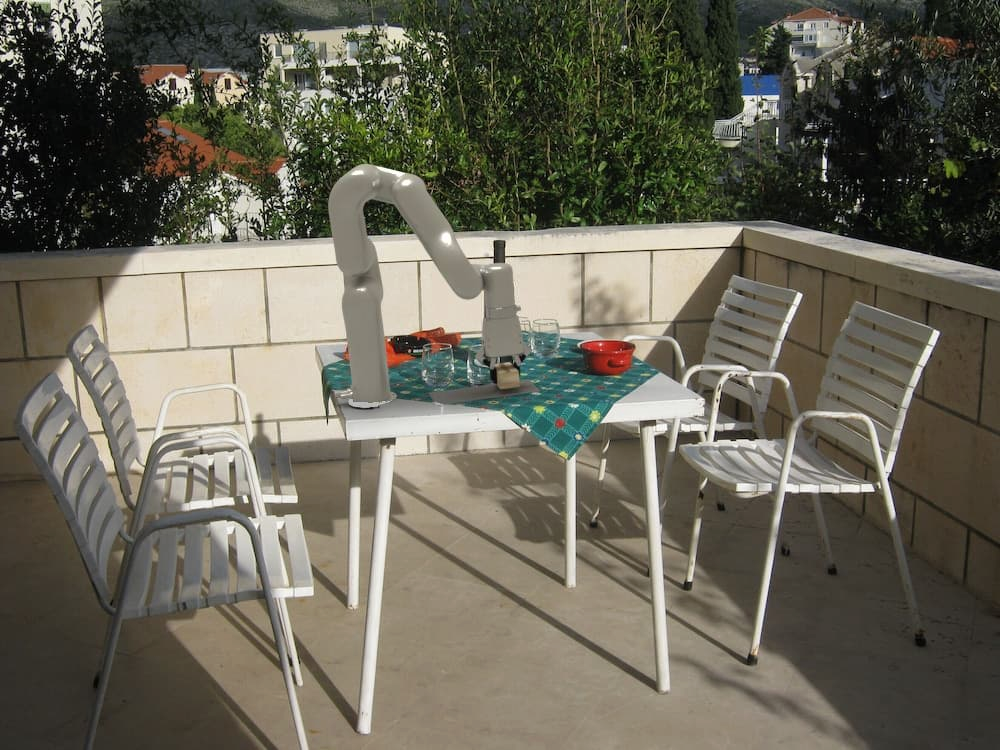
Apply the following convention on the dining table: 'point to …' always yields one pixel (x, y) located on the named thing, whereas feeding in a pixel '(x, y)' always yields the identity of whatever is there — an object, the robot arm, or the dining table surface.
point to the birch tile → (507, 375)
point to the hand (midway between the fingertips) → (505, 380)
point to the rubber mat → (481, 392)
